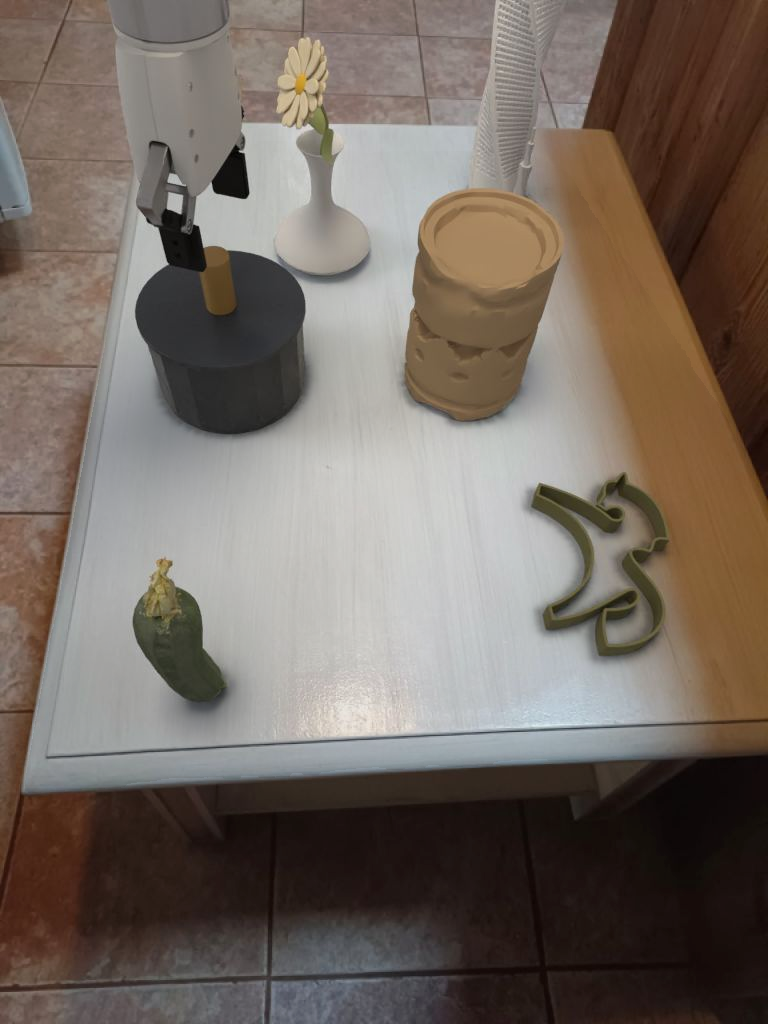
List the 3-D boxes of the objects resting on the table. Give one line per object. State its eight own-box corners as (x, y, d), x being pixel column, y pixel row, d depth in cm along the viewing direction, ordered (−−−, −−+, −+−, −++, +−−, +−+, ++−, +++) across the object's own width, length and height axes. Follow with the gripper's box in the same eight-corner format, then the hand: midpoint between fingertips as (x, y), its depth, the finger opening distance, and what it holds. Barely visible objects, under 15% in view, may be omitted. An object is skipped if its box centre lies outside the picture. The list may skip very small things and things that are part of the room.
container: (511, 432, 74) (557, 294, 59) (391, 407, 75) (405, 265, 59) (526, 346, 80) (569, 202, 65) (415, 324, 81) (433, 177, 66)
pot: (317, 419, 73) (315, 352, 65) (171, 445, 71) (150, 379, 63) (289, 320, 81) (283, 248, 73) (155, 340, 78) (134, 268, 70)
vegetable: (192, 728, 56) (130, 626, 39) (162, 686, 58) (89, 572, 41) (239, 692, 58) (199, 580, 41) (208, 653, 60) (157, 529, 43)
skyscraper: (452, 218, 92) (492, -42, 68) (463, 181, 96) (504, -75, 72) (518, 231, 91) (581, -27, 67) (525, 193, 95) (588, -62, 72)
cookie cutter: (528, 478, 71) (533, 466, 69) (649, 485, 71) (656, 473, 70) (543, 652, 61) (549, 643, 60) (682, 659, 62) (692, 651, 60)
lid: (322, 360, 66) (320, 304, 60) (146, 389, 63) (128, 332, 57) (288, 249, 73) (283, 191, 68) (130, 270, 71) (112, 211, 65)
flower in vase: (276, 221, 90) (257, -9, 68) (368, 223, 90) (378, -4, 69) (272, 293, 83) (249, 63, 62) (371, 295, 83) (383, 68, 62)
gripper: (168, -67, 51) (207, 162, 65) (46, 54, 42) (123, 287, 56) (269, -49, 50) (286, 178, 65) (168, 78, 41) (214, 308, 56)
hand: (210, 229), depth 60 cm, fingers open, 9 cm apart
